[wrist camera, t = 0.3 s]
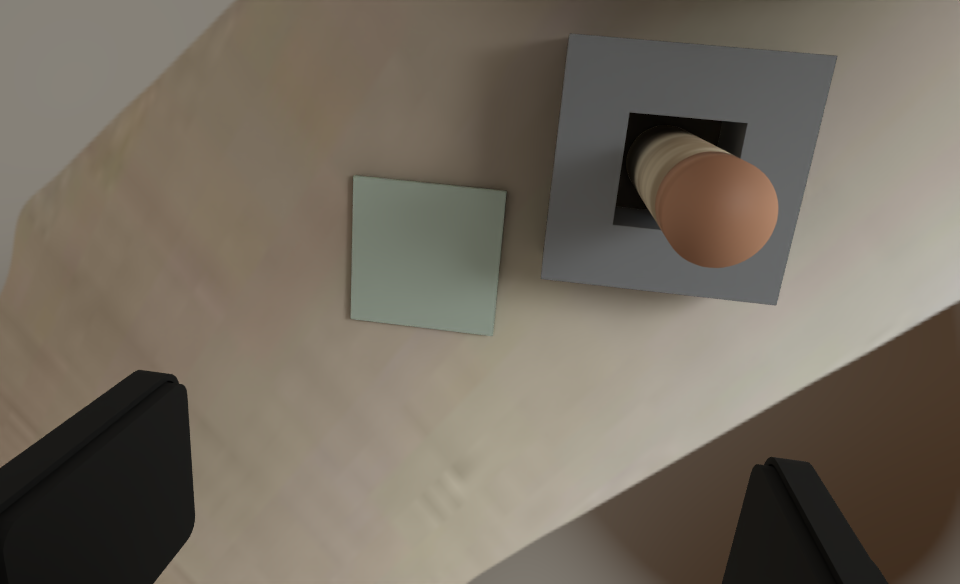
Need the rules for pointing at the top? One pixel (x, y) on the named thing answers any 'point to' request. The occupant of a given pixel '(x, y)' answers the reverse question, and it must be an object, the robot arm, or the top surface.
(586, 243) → the socket
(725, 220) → the peg
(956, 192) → the top surface
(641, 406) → the top surface
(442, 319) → the mat
